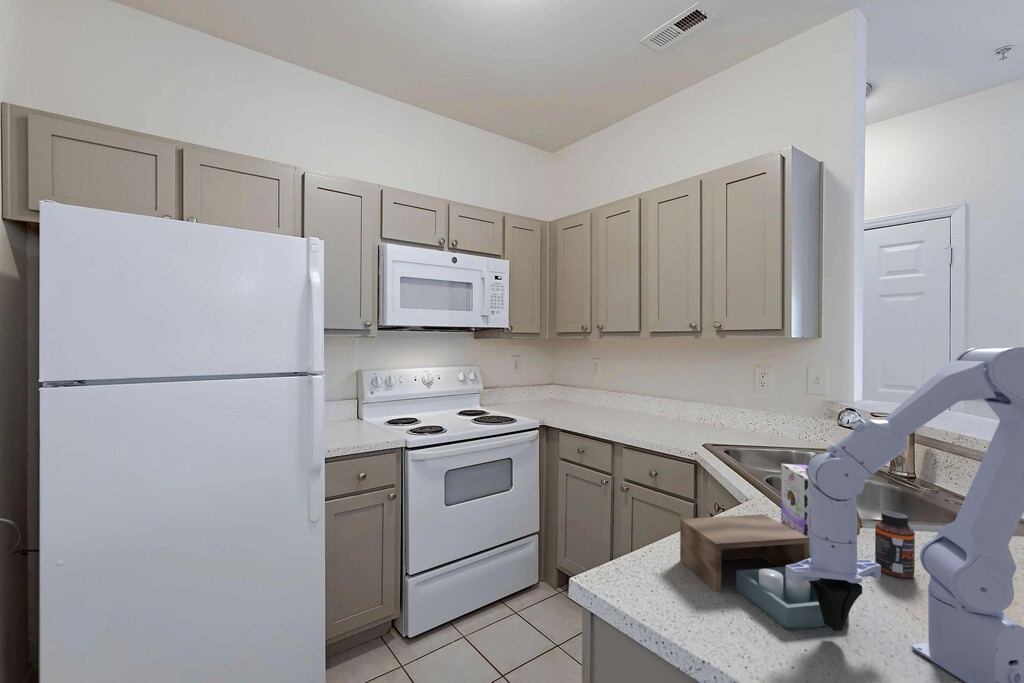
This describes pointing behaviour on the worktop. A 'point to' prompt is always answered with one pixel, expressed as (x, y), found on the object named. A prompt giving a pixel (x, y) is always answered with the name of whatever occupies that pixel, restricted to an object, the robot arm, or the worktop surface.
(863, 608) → the worktop surface
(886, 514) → the supplement bottle
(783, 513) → the candy box
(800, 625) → the tray
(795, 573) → the robot arm
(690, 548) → the shelf
